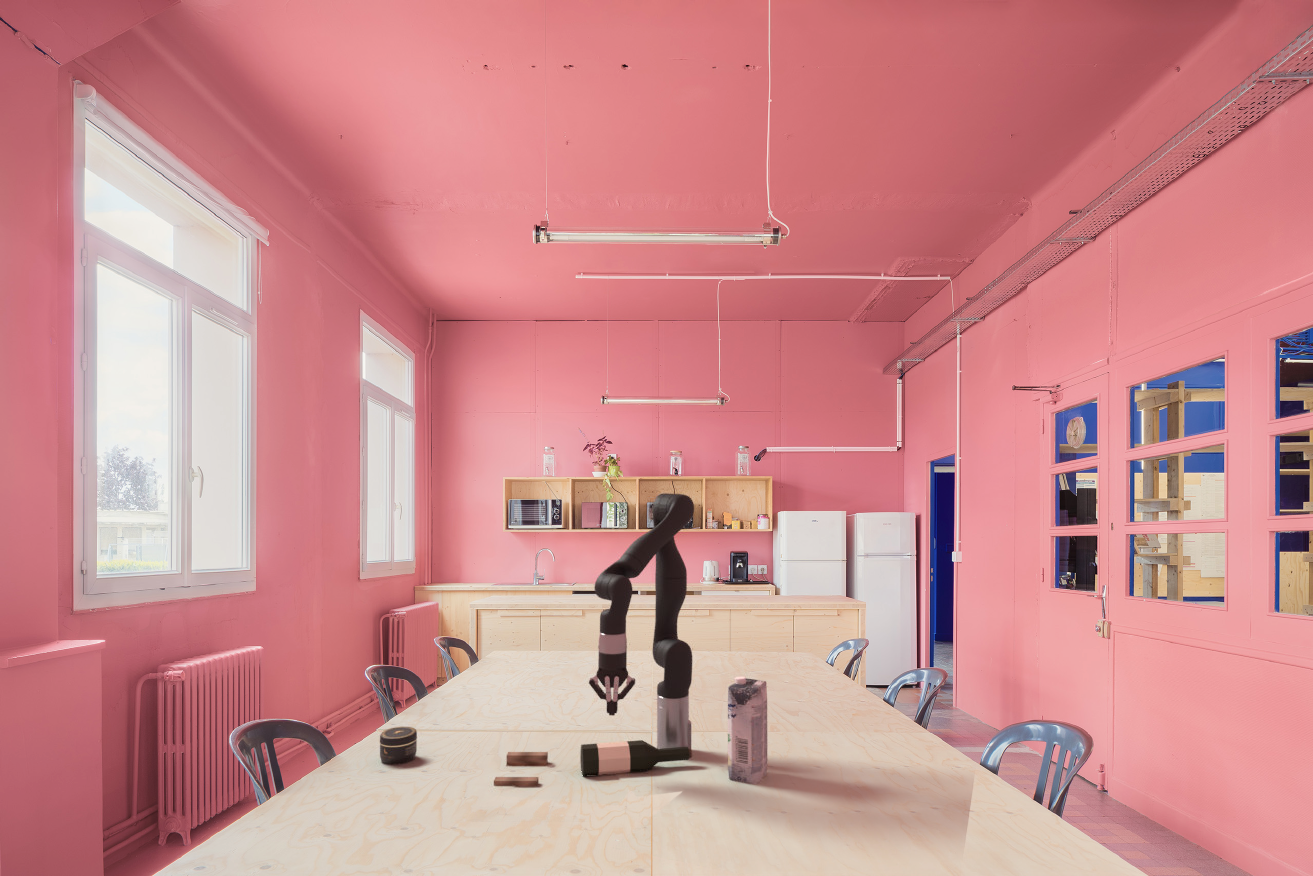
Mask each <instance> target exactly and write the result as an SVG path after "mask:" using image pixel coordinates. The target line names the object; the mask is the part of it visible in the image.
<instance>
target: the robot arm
mask: <svg viewBox="0 0 1313 876" xmlns="http://www.w3.org/2000/svg"><path fill="white" fill-rule="evenodd" d="M694 513H695V504H694V501H693V499H692V498H691V497H690V496H689V495H687V494H684V493H683V494H682V493H664V492H663V493H660V494H658V495H657V496H656V497H655V499H654V501H653V507H652V520H653V521H652V522H653V523H652V524H653V528H651V529H650V530H649V531H646V532H645V533H644V534H642V535H641V536H639V537H638V538H636V540H634V541H633V542H632V543H631V544H630V545H629V546H628V548H627V549H626V550H625V551H624V553H623V554H622V555H621V556H620V558H619V559H618V560H616V561H614V562H613V563H612V564H611V565H610V566H608V567H607V568H605V569H604V570H603V571H602V572H601V573H600V574H599V575H598V577H597V578H596V580H595V583H594V593H595V595H596V596H597V597H598V598H599V599H602V600H605V601H606V600H607V601H610V602H611V603H610V607H609V608H606V609H604V610H602V611H601V612H600V617H599V636H598V646H597V649H598V668H597V671H596V673H595V675H594V676H593V677H590V678H589V679H588V680H589V681H588V684H589V686H590V687H591V688H592V690H593V691H594V692H595V693H596V695H597V696H598V697H599V699H600V700H604V701H606V713H607V714H608V716H615V714H617V713H618V707H619V706H618V702H619V701H620V700H624V698H625V697H626V696H627V695H628V693H630V691H631V690H632V688H633V687H635V685H636V679H635V677H631V676H630V675H629V671H628V669H627V665H628V664H627V662H628V661H627V660H628V659H627V657H628V656H627V653H628V651H627V650H628V649H627V648H628V644H627V643H628V639H627V615H628V613H629V612H628V611H629V607H630V603H631V602H632V597H633V584H632V582H631V579H634V578H637V577H638V576H640V575H641V574H642V572H643V571H644V569H646V567H647V566H648V564H649V563H650V561H652V559H653V558H654V557H655V574H654V575H655V577H654V578H655V580H654V581H655V586H654V588H655V610H654V611H655V614H654V615H655V621H654V630H653V639H652V640H653V642H652V657H653V660H654V662H655V664H656V665H658V666H659V667H661V668H663V669H664V670H663V680H661V681H660V682H659V683H658V684H657V687H656V693H657V694H656V722H657V723H656V748H657V749H661V748H675V747H688V748H691V749H692V721H691V720H690V718H689V717H690V711H689V709H690V708H689V707H690V704H689V703H690V700H689V699H690V698H689V697H690V688H691V685H692V679H693V676H692V675H693V652H692V649H691V646H690V645H689V644H688V642H686V641H684V640H681V639H679V637H678V619H679V614H680V611H681V608H682V606H683V604H684V603H685V602H684V601H685V599H686V597H687V596H686V595H687V590H688V587H687V585H688V577H687V576H688V572H687V567H686V565H685V562H684V560H683V558H682V555H681V553H680V551H679V550H678V548H677V547H678V546H677V545H676V544H677V543H676V541H675V536H676V535H677V534H678V533H679V532H681V530H682V529H684V527H685V526H686V525H688V524H689V522H690V521H691V520H692V518H693V516H694ZM625 681H626V682H625ZM599 682H600V684H601V685H602V687H604V688H605V691H604V690H603V689H602V687H601V686H600V685H599ZM624 683H625V684H626V685H625V686H624V688H623V689H622V690H621V692H620V693H619V688H620V687H621V686H622V685H623V684H624ZM612 688H613V693H612Z"/></svg>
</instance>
